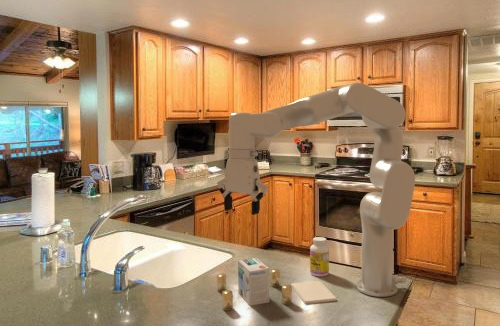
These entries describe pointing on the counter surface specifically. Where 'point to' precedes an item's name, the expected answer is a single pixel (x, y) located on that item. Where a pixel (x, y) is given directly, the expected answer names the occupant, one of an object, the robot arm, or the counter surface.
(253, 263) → the light bulb box
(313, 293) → the plate
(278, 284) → the brass cylinders
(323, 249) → the supplement bottle
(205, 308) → the counter surface
